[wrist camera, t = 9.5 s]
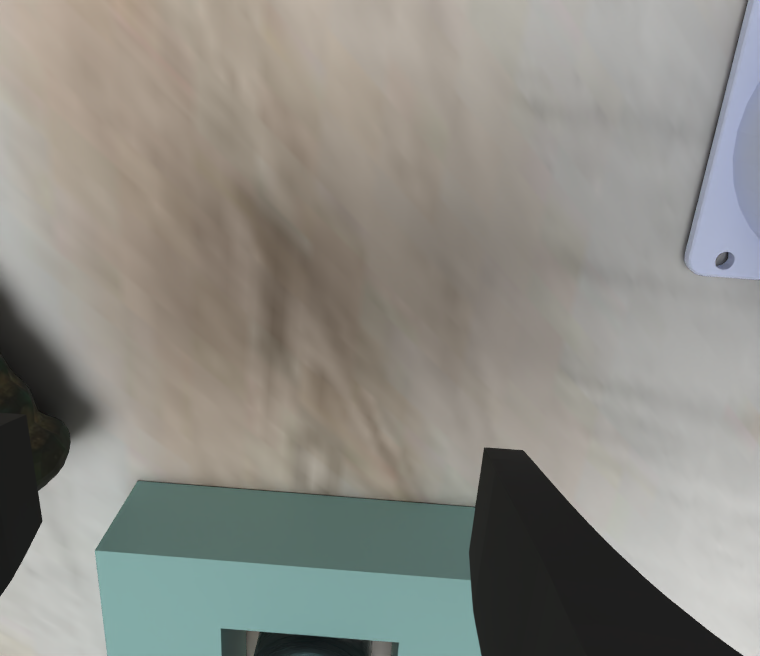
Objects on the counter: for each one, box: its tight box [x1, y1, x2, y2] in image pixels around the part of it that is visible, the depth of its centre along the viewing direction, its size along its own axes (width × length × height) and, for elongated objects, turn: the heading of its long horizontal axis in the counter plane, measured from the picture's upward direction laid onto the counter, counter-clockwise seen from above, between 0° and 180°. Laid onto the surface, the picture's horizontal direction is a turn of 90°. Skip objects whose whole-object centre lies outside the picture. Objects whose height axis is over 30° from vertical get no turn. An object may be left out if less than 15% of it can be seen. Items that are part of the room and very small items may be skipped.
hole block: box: [95, 481, 481, 656], centre depth 24 cm, size 13×11×4 cm
